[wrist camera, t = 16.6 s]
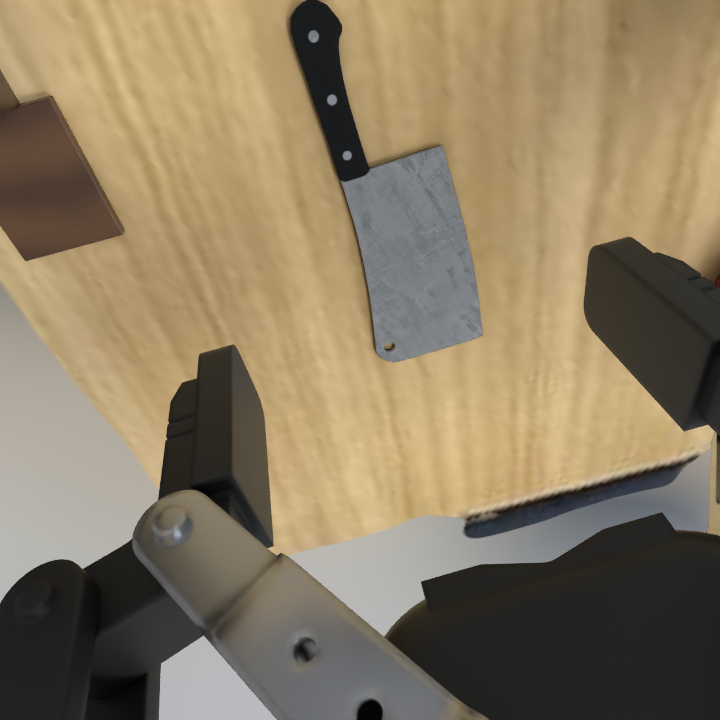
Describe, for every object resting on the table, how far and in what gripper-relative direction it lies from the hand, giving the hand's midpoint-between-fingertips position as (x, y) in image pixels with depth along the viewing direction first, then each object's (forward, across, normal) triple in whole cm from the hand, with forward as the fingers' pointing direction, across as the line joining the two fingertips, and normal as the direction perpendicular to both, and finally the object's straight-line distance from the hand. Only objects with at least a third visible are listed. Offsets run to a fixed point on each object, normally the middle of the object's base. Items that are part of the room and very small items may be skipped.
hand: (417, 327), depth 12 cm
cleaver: (+28, -5, +11) cm, 31 cm away
